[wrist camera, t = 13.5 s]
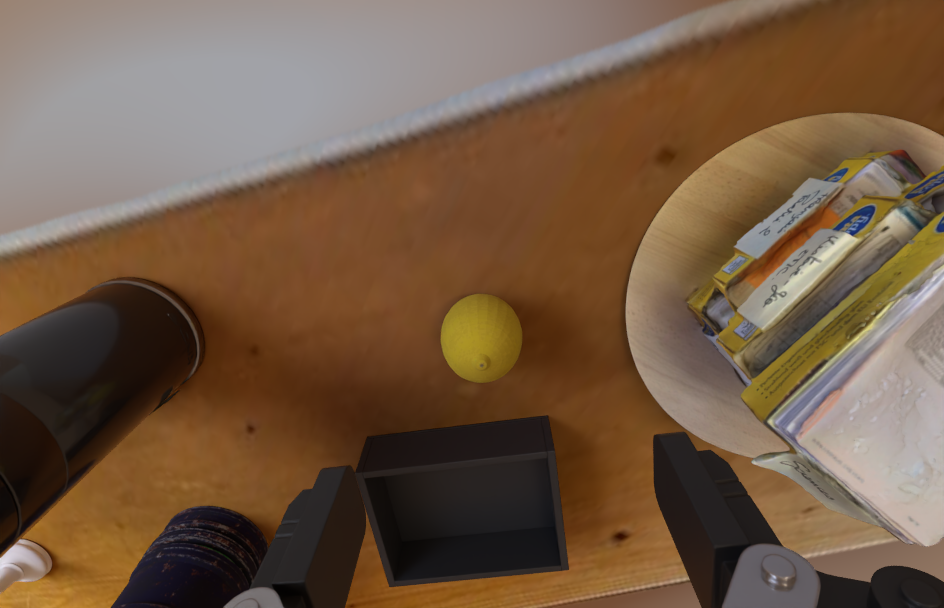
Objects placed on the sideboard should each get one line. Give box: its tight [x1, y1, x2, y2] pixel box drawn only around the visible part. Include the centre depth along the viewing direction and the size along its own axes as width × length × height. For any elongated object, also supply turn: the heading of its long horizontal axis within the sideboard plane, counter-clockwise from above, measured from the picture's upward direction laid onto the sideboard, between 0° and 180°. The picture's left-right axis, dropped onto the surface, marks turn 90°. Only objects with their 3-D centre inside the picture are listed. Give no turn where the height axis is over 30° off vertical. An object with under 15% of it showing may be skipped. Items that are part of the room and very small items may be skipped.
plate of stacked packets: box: [626, 113, 944, 547], centre depth 30 cm, size 25×25×17 cm
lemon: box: [441, 294, 522, 383], centre depth 35 cm, size 6×6×8 cm
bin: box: [355, 415, 569, 587], centre depth 43 cm, size 15×12×4 cm
